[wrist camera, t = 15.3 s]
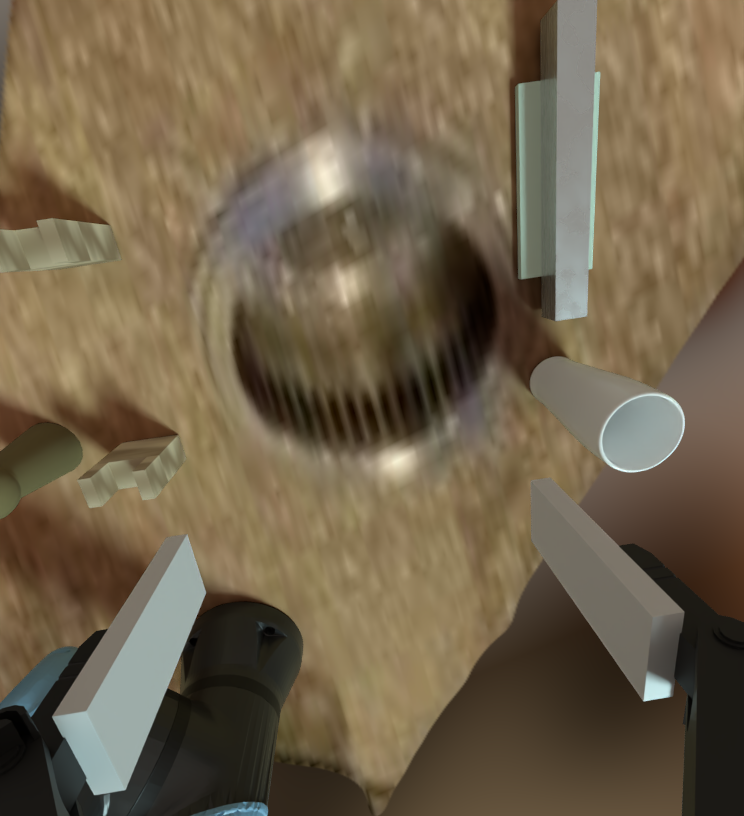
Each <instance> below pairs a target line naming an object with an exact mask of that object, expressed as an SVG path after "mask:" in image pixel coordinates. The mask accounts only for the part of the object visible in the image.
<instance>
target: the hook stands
mask: <svg viewBox="0 0 744 816" xmlns="http://www.w3.org/2000/svg"><path fill="white" fill-rule="evenodd" d="M37 224H38V226H39V227H35V228H29V229H22V230H3V229H0V272H20V271H40V270H57V269H64V268H71V267H78V266H84V265H91V264H98V263H105V262H112V261H118V260H122V259H121V256H120V253H119V250H118V247H117V244H116V241H115V238H114V235H113V232H112V229H111V226H110V225H103V224H95V223H87V222H79V221H71V220H63V219H55V218H51V219H44V220H37ZM185 460H186V456H185V453H184V450H183V447H182V444H181V441H180V438H179V435H172V436H165V437H158V438H152V439H145V440H138V441H132V442H125V443H121V444H120V445H119V446H118V447H116V448H115V449H114V450H113V451H111V452H110V453H109V454H108V455H107V456H105V457H104V458H103V459H102V460H101V461H99V462H98V463H97V464H96V465H95V466H93V467H92V468H91V469H90V470H89V471H87V472H86V473H85V474H84V475H83V476H81V477H80V478H79V479H78V480H77V481H78V483H79V485H80V488H81V490H82V492H83V495H84V497H85V499H86V501H87V504H88V506H89V508H93V507H100V506H103V505H104V504H105V503H106V502H107V501H108V500H109V499H110V498H111V497H112V496H113V495H114V494H115V493H116V492H117V491H118V490H119V489H124V488H131V487H138V489H139V492H140V494H141V497H142V500H147V499H154V498H156V497H157V496H158V494H159V493H160V492H161V491H162V489H163V488H164V487H165V486H166V484H167V483H168V482H169V481H170V479H171V478H172V477H173V476H174V474H175V473H176V472H177V470H178V469H179V468H180V467H181V465H182V464H183V463H184V462H185Z"/></svg>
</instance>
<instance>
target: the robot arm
mask: <svg viewBox="0 0 744 816" xmlns="http://www.w3.org/2000/svg"><path fill="white" fill-rule="evenodd" d="M531 541H532V543H533V544H534V545H535V547H536V548H537V550H538V551H539V553H540V554H541V555H542V557H543V558H544V560H545V561H546V563H547V564H548V565H549V567H550V568H551V569H552V571H553V573H554V574H555V575H556V577H557V578H558V580H559V581H560V582H561V584H562V585H563V587H564V588H565V590H566V591H567V593H568V594H569V595H570V597H571V598H572V599H573V601H574V603H575V604H576V605H577V607H578V608H579V610H580V611H581V612H582V614H583V615H584V617H585V618H586V620H587V621H588V622H589V624H590V625H591V627H592V628H593V630H594V631H595V632H596V634H597V635H598V637H599V638H600V640H601V641H602V643H603V644H604V645H605V647H606V648H607V650H608V651H609V653H610V654H611V655H612V657H613V658H614V660H615V661H616V663H617V664H618V665H619V667H620V668H621V670H622V671H623V673H624V674H625V675H626V677H627V678H628V680H629V681H630V683H631V684H632V685H633V687H634V688H635V690H636V691H637V693H638V694H639V695H640V697H641V698H642V700H643V701H648V700H654V699H660V698H665V697H672V696H673V691H674V684H675V679H676V680H677V681H678V683H679V684H680V685H681V686H682V687H683V689H684V690H685V691H686V693H687V701H686V708H685V714H684V720H683V724H685V747H684V773H683V774H684V775H683V800H682V816H744V622H741V621H739V620H736V619H734V618H731V617H726V616H721V615H718V614H717V613H716V612H715V611H714V610H713V609H711V608H710V607H709V606H708V605H707V604H706V603H705V602H704V601H703V600H702V599H701V598H699V597H698V596H697V595H696V594H695V593H694V592H693V591H692V590H691V589H690V588H689V587H687V586H686V585H685V584H684V583H683V582H682V581H681V580H680V579H679V578H676V577H675V575H674V574H673V573H672V572H671V571H670V570H669V569H668V568H665V566H664V564H663V563H661V562H660V561H659V560H658V559H657V558H656V557H655V556H654V555H653V554H652V553H650V552H648V551H646V550H644V549H643V548H641V547H639V546H637V545H635V544H627V545H621V546H618V545H617V544H616V543H615V542H614V541H613V540H612V539H611V538H610V537H609V536H608V535H607V534H606V533H605V532H604V531H603V530H602V529H601V528H600V527H599V526H598V525H597V524H596V523H595V522H594V521H593V520H592V519H591V518H590V517H589V516H588V515H587V514H586V513H585V512H584V511H583V510H582V509H581V508H580V507H579V506H578V505H577V504H576V503H575V502H574V501H573V500H572V499H571V498H570V497H569V496H568V495H567V494H566V493H565V492H564V491H563V490H562V489H561V488H560V487H559V486H558V485H557V484H556V483H555V482H554V481H553V480H552V479H551V478H545V479H538V480H532V481H531ZM205 595H206V591H205V588H204V585H203V581H202V578H201V575H200V572H199V569H198V566H197V563H196V560H195V557H194V554H193V551H192V548H191V545H190V542H189V538H188V535H187V534H185V535H179V536H172V537H167V538H166V539H165V541H164V542H163V544H162V545H161V547H160V548H159V550H158V552H157V553H156V555H155V556H154V558H153V559H152V561H151V563H150V564H149V566H148V567H147V569H146V570H145V572H144V574H143V575H142V577H141V578H140V580H139V581H138V583H137V584H136V586H135V588H134V589H133V591H132V592H131V594H130V595H129V597H128V599H127V600H126V602H125V603H124V605H123V606H122V608H121V609H120V611H119V613H118V614H117V616H116V617H115V619H114V620H113V622H112V624H111V625H110V627H109V628H108V629H106V630H100V631H96V632H95V633H94V634H92V635H91V636H90V637H89V638H88V639H87V640H86V641H85V642H84V643H83V644H82V645H81V646H80V647H79V648H77V647H72V646H67V647H62V648H59V649H57V650H55V651H53V652H51V653H50V654H48V655H47V656H46V657H45V658H44V659H43V660H42V661H40V662H39V663H38V664H37V665H36V666H35V667H34V668H33V669H32V670H31V671H30V672H29V673H28V674H27V675H26V677H25V678H24V679H23V680H22V681H21V682H20V683H19V684H18V685H17V686H16V687H15V688H14V689H13V690H12V691H11V692H10V693H9V694H8V695H7V696H6V697H5V699H4V700H3V701H2V702H1V703H0V816H267V813H268V808H267V803H268V796H269V789H270V781H271V775H272V768H273V761H274V754H275V747H276V739H277V732H278V725H279V718H280V712H281V708H282V706H283V704H284V702H285V700H286V698H287V696H288V694H289V692H290V690H291V688H292V686H293V684H294V682H295V679H296V677H297V675H298V673H299V670H300V667H301V662H302V653H303V640H302V636H301V633H300V631H299V629H298V628H297V626H296V625H295V624H294V622H293V621H292V620H291V619H290V618H289V617H287V616H286V615H285V614H283V613H282V612H280V611H278V610H276V609H274V608H272V607H269V606H266V605H263V604H259V603H252V602H234V603H228V604H224V605H220V606H217V607H215V608H213V609H211V610H209V611H207V612H206V613H204V614H203V615H202V616H200V617H199V618H198V619H197V620H196V622H195V623H194V621H195V619H196V617H197V614H198V612H199V609H200V607H201V604H202V602H203V599H204V597H205ZM181 653H182V664H181V685H180V694H178V693H177V692H174V691H172V690H170V689H168V688H167V687H168V685H169V683H170V680H171V678H172V675H173V673H174V670H175V668H176V665H177V663H178V661H179V658H180V656H181Z"/></svg>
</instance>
